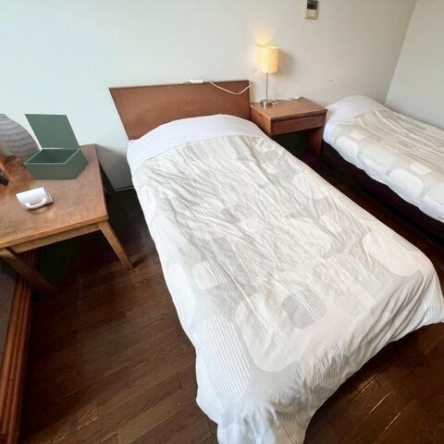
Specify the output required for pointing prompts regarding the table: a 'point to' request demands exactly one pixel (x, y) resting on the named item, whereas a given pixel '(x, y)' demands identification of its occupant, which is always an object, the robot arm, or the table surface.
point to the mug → (34, 198)
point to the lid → (52, 130)
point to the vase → (17, 139)
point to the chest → (56, 164)
